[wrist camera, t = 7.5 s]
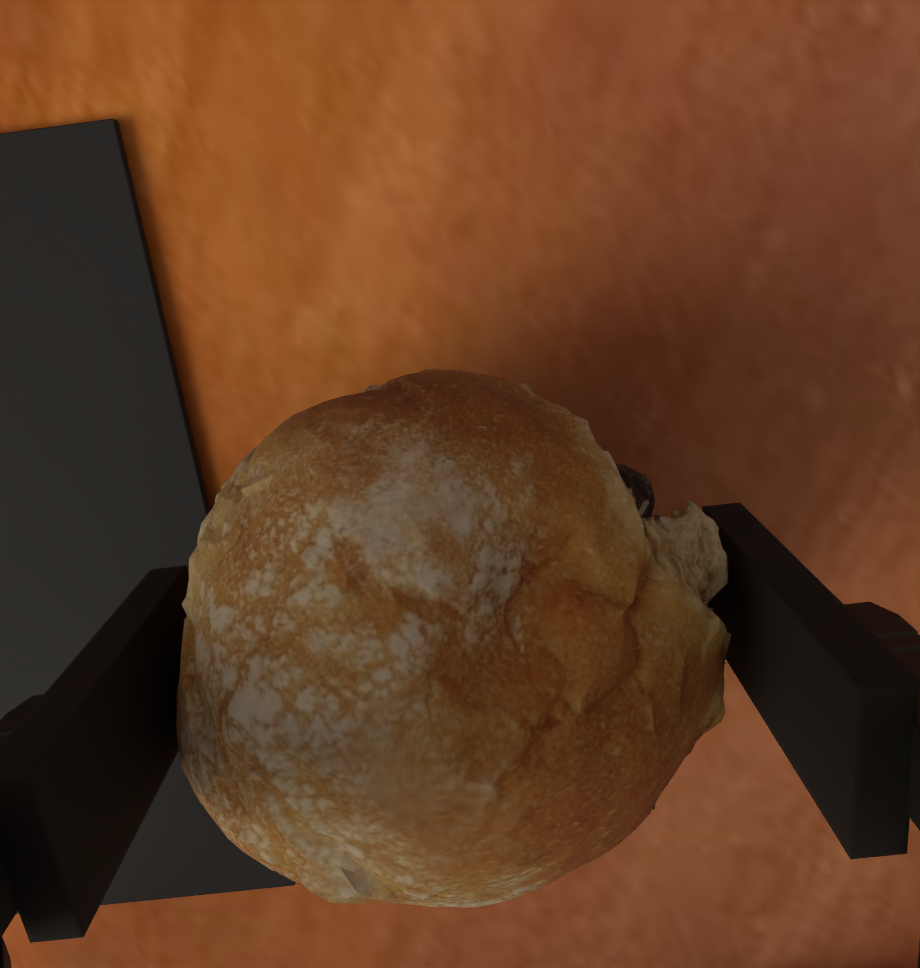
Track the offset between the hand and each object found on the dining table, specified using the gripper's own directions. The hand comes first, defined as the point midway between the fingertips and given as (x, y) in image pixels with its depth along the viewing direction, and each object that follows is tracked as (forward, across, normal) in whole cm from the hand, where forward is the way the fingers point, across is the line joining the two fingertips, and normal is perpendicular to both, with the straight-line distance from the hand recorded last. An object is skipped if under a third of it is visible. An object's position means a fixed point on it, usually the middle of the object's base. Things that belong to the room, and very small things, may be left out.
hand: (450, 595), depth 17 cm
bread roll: (0, 0, 0) cm, 0 cm away
